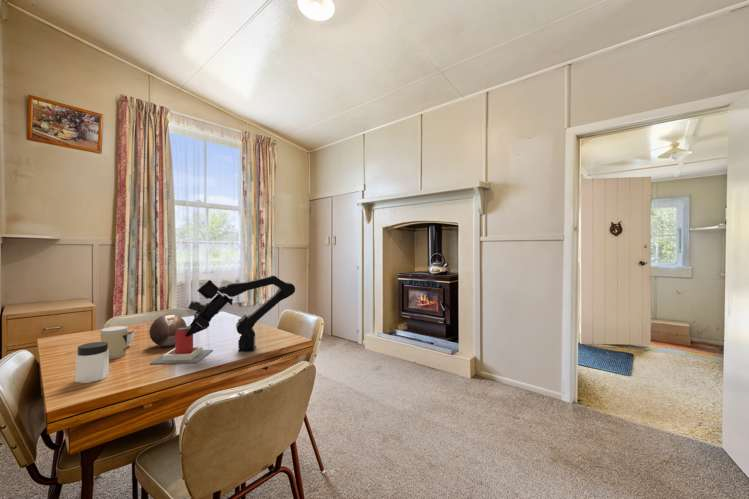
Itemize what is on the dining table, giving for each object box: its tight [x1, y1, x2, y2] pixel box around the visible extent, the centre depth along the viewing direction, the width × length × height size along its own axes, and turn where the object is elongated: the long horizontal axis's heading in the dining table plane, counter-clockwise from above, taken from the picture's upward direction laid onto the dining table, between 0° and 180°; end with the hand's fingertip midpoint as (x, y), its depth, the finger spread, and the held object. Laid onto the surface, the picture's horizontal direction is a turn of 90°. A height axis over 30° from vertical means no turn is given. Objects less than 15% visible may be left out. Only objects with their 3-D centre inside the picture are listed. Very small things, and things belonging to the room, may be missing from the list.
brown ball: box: [149, 313, 187, 347], centre depth 153 cm, size 15×15×15 cm
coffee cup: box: [99, 325, 128, 360], centre depth 137 cm, size 9×9×12 cm
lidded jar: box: [126, 327, 135, 348], centre depth 150 cm, size 11×11×9 cm
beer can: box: [174, 325, 194, 354], centre depth 137 cm, size 7×7×12 cm
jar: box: [75, 341, 110, 384], centre depth 114 cm, size 9×8×12 cm
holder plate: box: [149, 346, 214, 365], centre depth 137 cm, size 18×16×3 cm
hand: (186, 333), depth 137 cm, fingers open, 9 cm apart
